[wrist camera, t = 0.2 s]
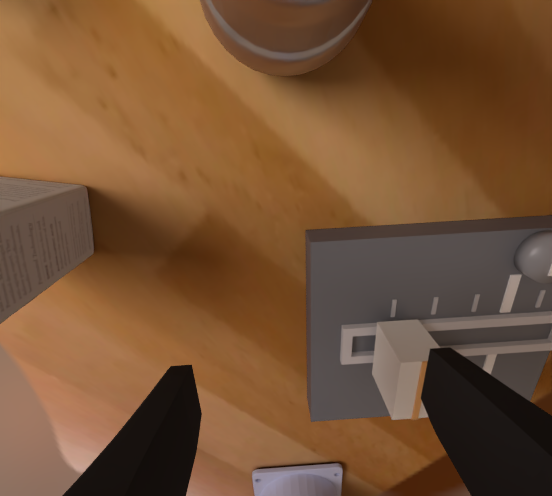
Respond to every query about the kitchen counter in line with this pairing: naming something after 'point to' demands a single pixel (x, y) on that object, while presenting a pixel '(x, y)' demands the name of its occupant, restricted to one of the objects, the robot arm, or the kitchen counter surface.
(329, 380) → the console
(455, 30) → the kitchen counter surface
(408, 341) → the fader cap
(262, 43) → the plastic bottle
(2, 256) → the skincare box
